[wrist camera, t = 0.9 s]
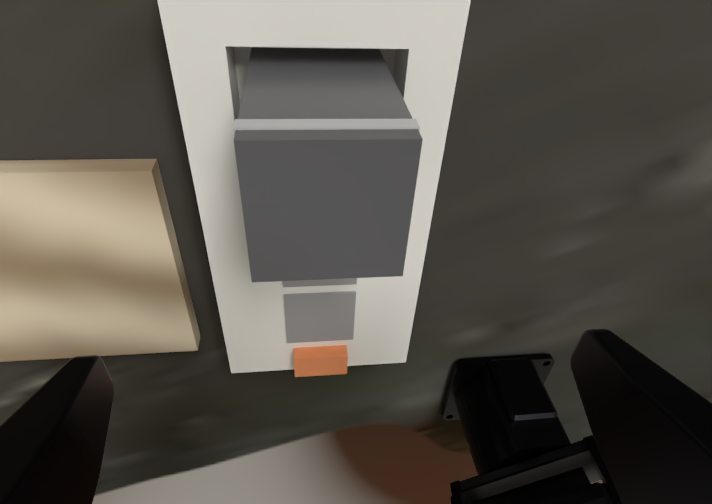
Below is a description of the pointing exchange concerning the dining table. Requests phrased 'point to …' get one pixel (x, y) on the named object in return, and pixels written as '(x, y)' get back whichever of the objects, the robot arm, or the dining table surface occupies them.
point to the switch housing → (221, 184)
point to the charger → (325, 165)
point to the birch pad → (89, 262)
